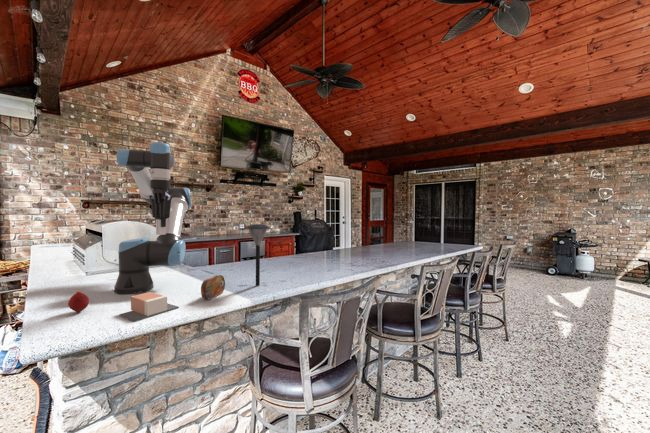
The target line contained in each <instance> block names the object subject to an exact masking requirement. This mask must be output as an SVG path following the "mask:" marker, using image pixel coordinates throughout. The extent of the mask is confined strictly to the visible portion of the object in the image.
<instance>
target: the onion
mask: <svg viewBox="0 0 650 433" xmlns="http://www.w3.org/2000/svg"><path fill="white" fill-rule="evenodd" d="M89 304H90V299H89V296H88V295H87V294H85V293H84V292H81V291H80V290H76V292H75V293H74V294H73V295H72V296H71V297H70V298H69V300H68V307H69V309H70V310H72V311H74V312H75V313H77V314H78V313H81V312H82V311H84V310H86V309H87V308H88V306H89Z"/></svg>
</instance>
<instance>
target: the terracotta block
mask: <svg viewBox="0 0 650 433" xmlns="http://www.w3.org/2000/svg"><path fill="white" fill-rule="evenodd" d="M167 303H168V297H167V296H166V295H162V294H159V293H156V292H152V291H149V292H145V293H144V292H143V293H141V294H137V295H132V296H130V311H135V312H138V313H141V314H143V315H146V316H149V315H153V314H156V313H159V312H163V311H166V310H167Z"/></svg>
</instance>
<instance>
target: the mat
mask: <svg viewBox="0 0 650 433" xmlns="http://www.w3.org/2000/svg"><path fill="white" fill-rule="evenodd" d="M179 308H180V307H179V306H177V305H174V304H171V303H168V302H167V310H166V311H163V312H159V313H156V314H153V315H149V316H146V315H143V314H141V313H138V312H135V311H132V310H130V311H126V312H123V313H119V314H118V316H119V317H121V318H123V319H127V320H129V321H131V322H137V321H141V320H145V319H148V318H151V317H154V316H157V315H161V314H163V313H167V312H170V311H173V310H177V309H179Z"/></svg>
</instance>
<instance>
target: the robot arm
mask: <svg viewBox="0 0 650 433" xmlns="http://www.w3.org/2000/svg"><path fill="white" fill-rule="evenodd" d="M116 163H117V165H118V166H120V167H124V168H126V167H127V169H128V170H129V172H130V175H131V176H132V178H133V180H134V181H135V183H136V186H137V187H138V193H139V195H140V197H141V198H142V199H143V201H145V202H146V203H148V204H149V205H150V208H151V216H152V218H154V220H155V235H157V238H156V240H150V239H149V237H141V238H140V237H139V238H132V239H127V240H123V241H121V242H120V243H119V244H118V252H117V253H118V276H117V280H115V281H116V282H115V285H114V294H117V295H118V294H120V295H130V294H131V295H133V294H138V293H144V292H147V291H151V290H153V288H154V281H153V278H152V275H151V273H150V267H156V266H157V267H158V266H161V267H162V266H177V265H181V264H182V263H183V262H184V258H185V256H186V246H187V245H186V241H185V240H183V238H182V237H181V234H182V229H183V221H184V216H185V213H186V212H187V210H188V209H191V208H192V199H191V198H192V197H191V190H190V188H188V187H182V186H181V187H175V186H174V187H171V169H172V168H173V167H174V166H175V164H176V160H175V156H174V155H173V154H172V153H171V146H170V144H168V143H166V142H161V141H160V142H159V141H155V142H151V143H150V144H149V150H143V149H130V148H127V149H125V148H124V149H123V148H122V149H121V148H120V149H118V150H117V152H116ZM149 168H150V170H149Z"/></svg>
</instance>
